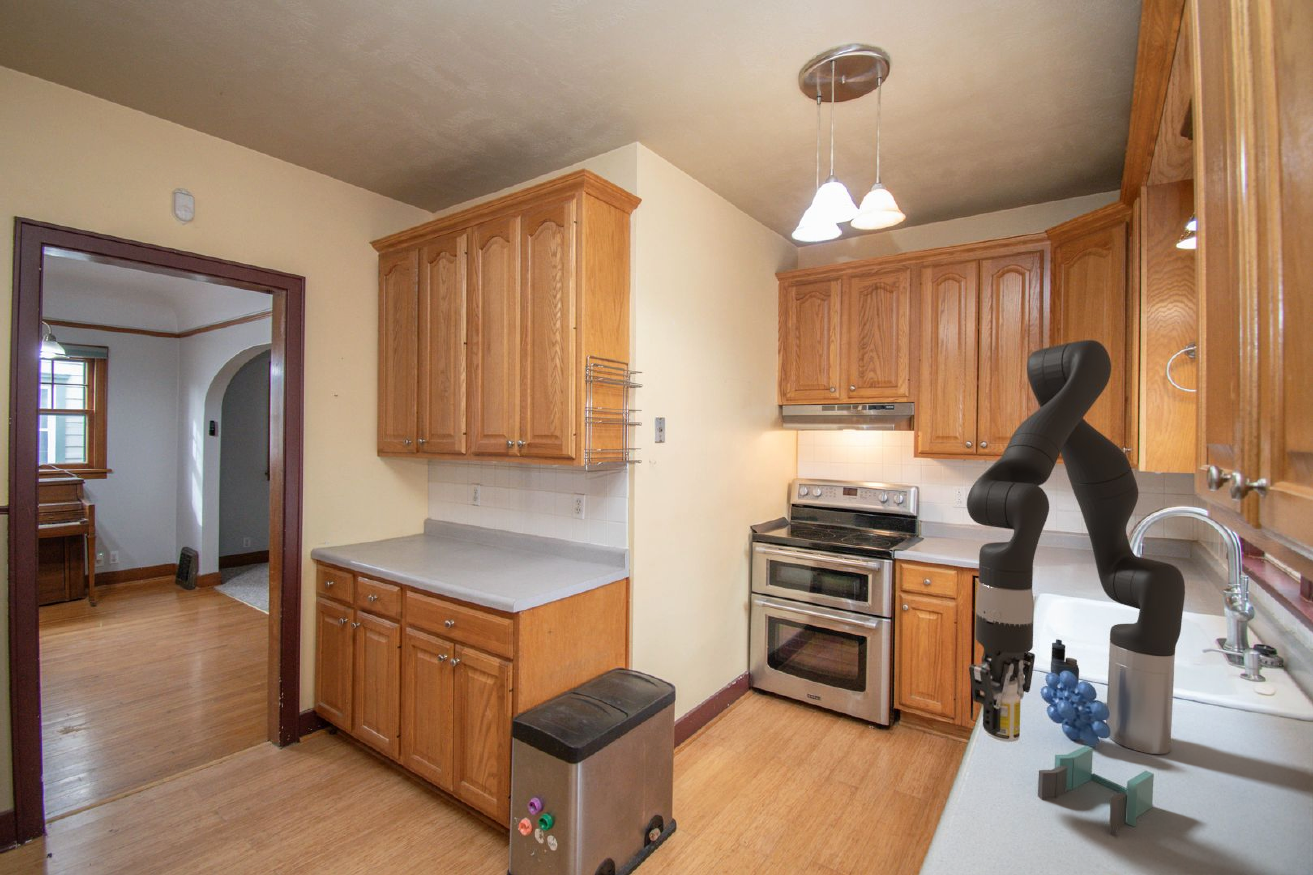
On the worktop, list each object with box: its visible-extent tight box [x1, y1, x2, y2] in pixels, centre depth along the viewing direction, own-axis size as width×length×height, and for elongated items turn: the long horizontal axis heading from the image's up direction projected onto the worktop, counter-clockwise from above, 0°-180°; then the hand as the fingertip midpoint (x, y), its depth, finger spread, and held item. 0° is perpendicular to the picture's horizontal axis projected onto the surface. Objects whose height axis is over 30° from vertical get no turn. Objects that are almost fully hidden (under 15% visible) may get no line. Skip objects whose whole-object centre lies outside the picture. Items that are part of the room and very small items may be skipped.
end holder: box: [1054, 745, 1155, 827], centre depth 92 cm, size 9×11×5 cm
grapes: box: [1040, 671, 1111, 747], centre depth 109 cm, size 12×7×12 cm, turn 28°
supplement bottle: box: [983, 680, 1021, 743], centre depth 91 cm, size 5×5×8 cm
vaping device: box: [1049, 638, 1080, 683], centre depth 127 cm, size 3×5×12 cm, turn 82°
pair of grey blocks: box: [1037, 765, 1127, 838], centre depth 88 cm, size 5×10×4 cm, turn 31°
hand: (1001, 725), depth 91 cm, fingers closed on supplement bottle, 4 cm apart
